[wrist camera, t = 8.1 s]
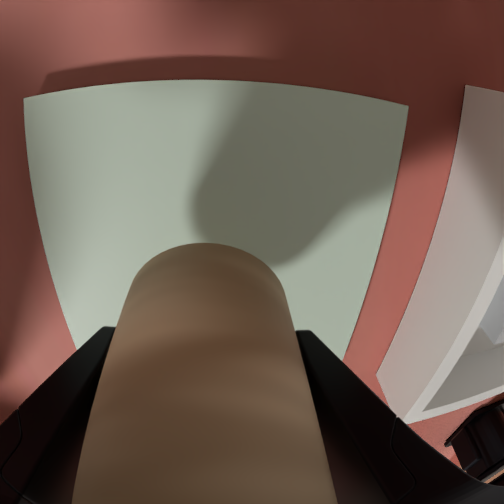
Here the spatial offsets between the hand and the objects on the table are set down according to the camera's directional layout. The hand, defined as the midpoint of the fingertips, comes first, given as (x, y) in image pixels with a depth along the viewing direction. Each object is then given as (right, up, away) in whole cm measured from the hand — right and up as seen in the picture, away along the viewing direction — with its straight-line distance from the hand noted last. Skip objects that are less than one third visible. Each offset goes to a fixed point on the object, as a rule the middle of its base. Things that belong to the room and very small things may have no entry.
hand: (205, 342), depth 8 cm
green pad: (0, +2, +4) cm, 4 cm away
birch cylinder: (0, +1, +1) cm, 1 cm away
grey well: (+17, +2, +5) cm, 18 cm away
